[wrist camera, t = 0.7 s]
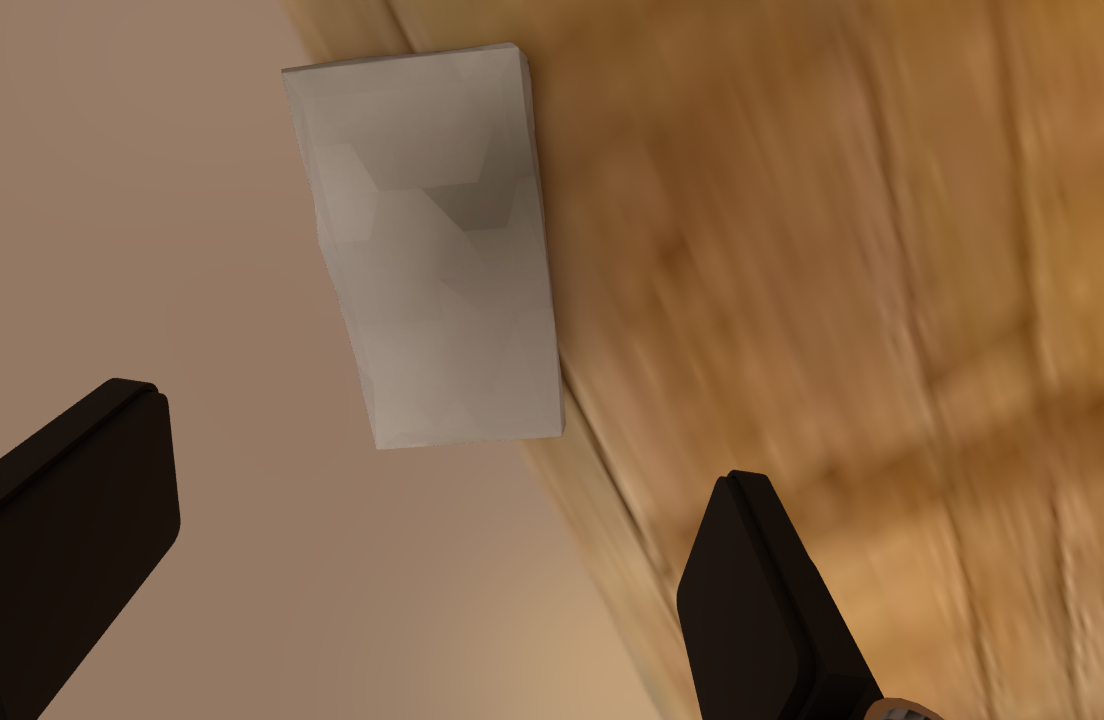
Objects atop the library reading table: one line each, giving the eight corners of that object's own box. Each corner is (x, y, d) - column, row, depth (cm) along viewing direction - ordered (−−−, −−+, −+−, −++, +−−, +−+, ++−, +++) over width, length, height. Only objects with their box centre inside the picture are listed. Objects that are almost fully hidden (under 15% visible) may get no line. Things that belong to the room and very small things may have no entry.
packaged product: (533, 42, 28) (317, 66, 28) (525, 38, 23) (269, 67, 24) (568, 396, 35) (397, 408, 36) (567, 443, 31) (372, 455, 32)
